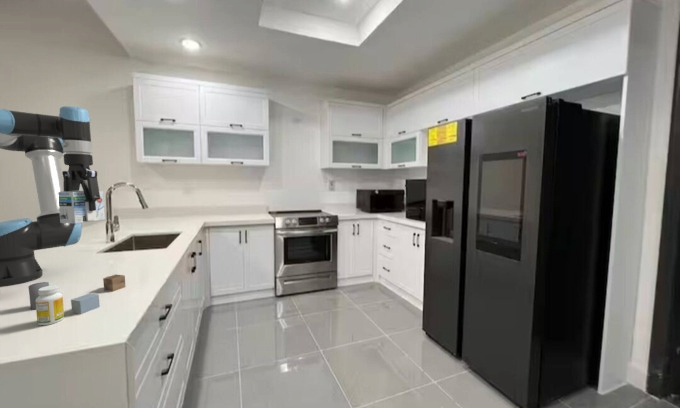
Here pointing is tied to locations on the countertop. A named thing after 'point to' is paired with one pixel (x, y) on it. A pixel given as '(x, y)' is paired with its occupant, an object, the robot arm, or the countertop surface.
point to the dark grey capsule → (35, 293)
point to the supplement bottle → (49, 305)
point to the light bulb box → (77, 207)
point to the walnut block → (114, 282)
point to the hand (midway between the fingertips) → (83, 219)
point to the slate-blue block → (85, 303)
